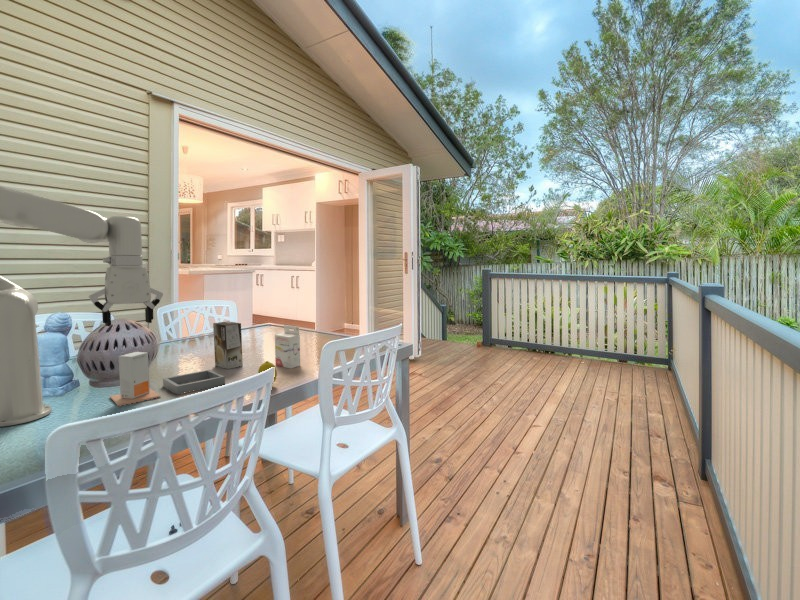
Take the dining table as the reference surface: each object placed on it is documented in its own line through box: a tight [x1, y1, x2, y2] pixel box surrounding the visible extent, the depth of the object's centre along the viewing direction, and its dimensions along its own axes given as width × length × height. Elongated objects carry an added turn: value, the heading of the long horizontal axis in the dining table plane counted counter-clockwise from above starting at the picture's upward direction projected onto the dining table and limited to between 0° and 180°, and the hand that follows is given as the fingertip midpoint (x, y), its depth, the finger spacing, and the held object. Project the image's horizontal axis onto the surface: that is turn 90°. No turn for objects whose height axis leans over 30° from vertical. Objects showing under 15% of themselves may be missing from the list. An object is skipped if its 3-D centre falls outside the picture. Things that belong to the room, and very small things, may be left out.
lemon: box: [257, 360, 278, 383], centre depth 125 cm, size 6×6×8 cm
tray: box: [162, 369, 226, 396], centre depth 127 cm, size 14×12×2 cm
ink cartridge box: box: [274, 324, 301, 369], centre depth 150 cm, size 9×5×15 cm, turn 58°
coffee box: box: [212, 320, 244, 370], centre depth 150 cm, size 9×6×16 cm
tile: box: [109, 388, 161, 407], centre depth 115 cm, size 10×10×1 cm
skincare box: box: [118, 351, 151, 399], centre depth 115 cm, size 6×4×12 cm
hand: (129, 324), depth 113 cm, fingers open, 9 cm apart
